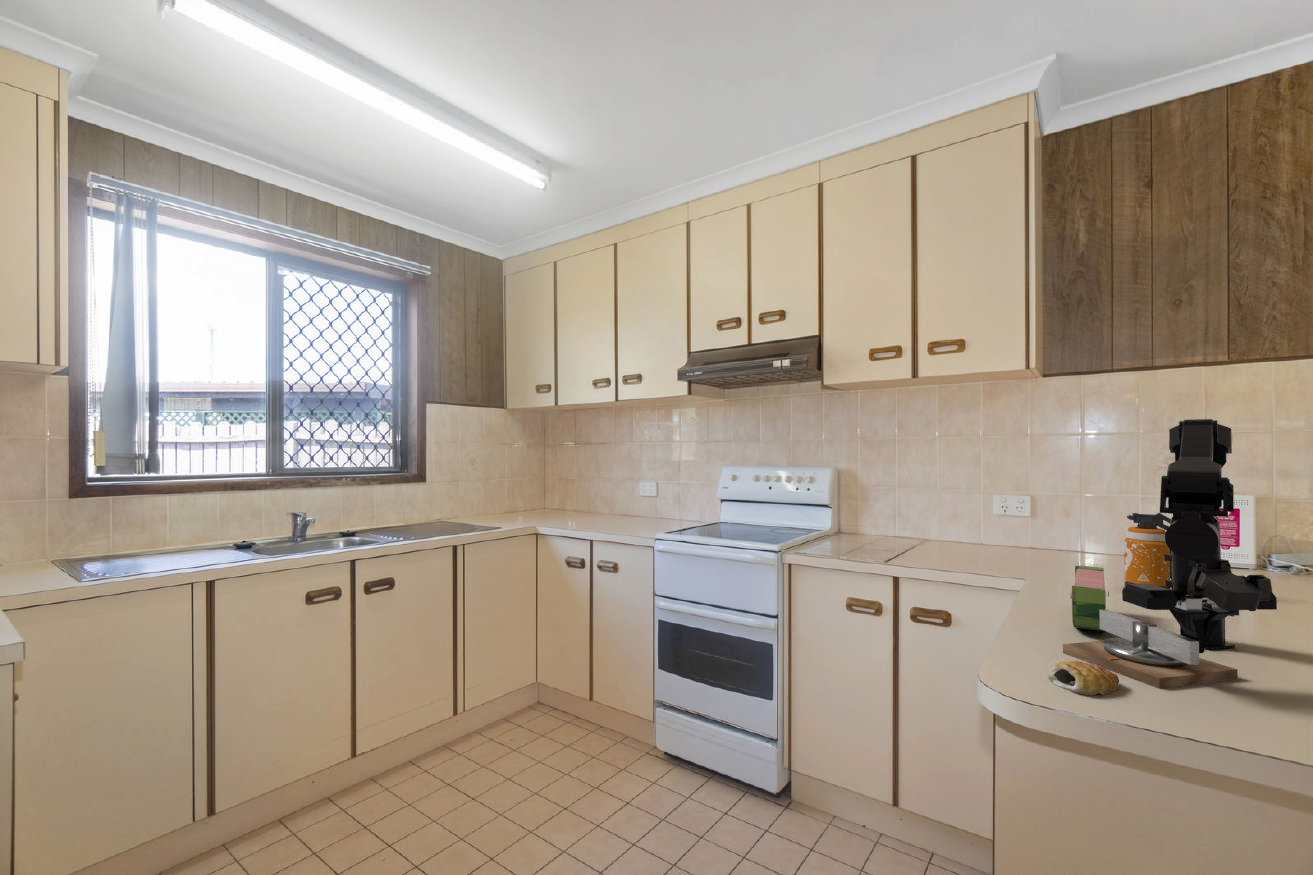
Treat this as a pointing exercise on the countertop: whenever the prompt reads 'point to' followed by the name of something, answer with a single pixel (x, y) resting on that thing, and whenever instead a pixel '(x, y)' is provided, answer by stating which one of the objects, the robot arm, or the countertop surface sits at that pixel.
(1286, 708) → the countertop surface
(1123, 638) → the silver metal stand
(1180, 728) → the countertop surface
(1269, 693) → the countertop surface
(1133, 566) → the canister
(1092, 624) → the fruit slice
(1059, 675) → the pastry
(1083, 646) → the dial board
